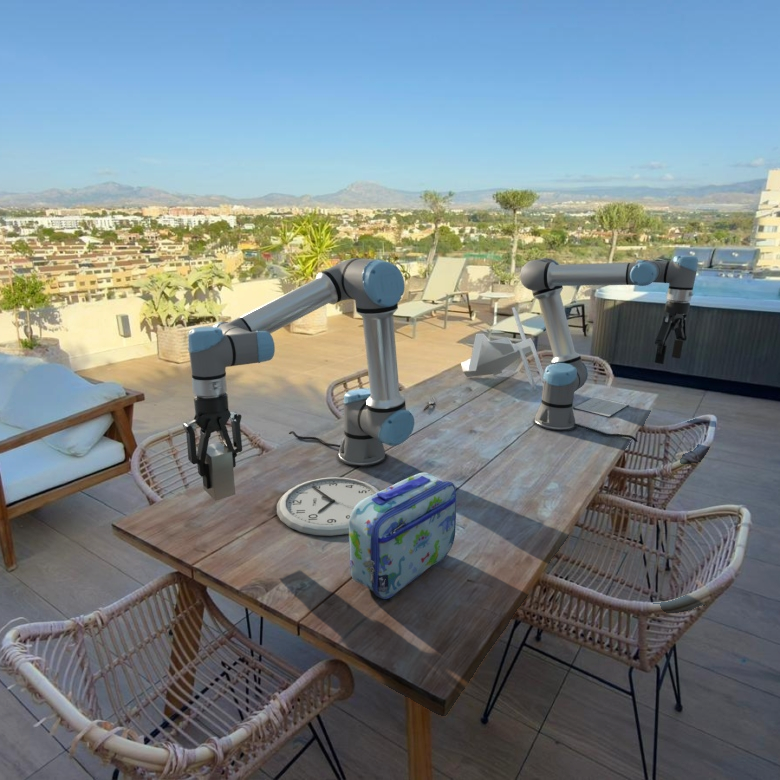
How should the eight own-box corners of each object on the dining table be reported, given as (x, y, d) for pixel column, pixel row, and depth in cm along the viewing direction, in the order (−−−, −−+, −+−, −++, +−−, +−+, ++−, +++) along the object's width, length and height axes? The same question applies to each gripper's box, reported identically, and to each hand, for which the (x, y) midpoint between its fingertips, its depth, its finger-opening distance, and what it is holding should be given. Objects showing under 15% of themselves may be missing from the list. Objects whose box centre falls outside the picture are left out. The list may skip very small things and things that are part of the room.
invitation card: (608, 416, 214) (573, 407, 224) (608, 416, 214) (573, 408, 224) (628, 404, 229) (594, 396, 238) (628, 405, 229) (594, 397, 238)
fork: (420, 411, 216) (420, 406, 216) (430, 400, 230) (431, 395, 230) (426, 412, 215) (426, 407, 215) (436, 401, 230) (436, 396, 229)
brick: (203, 489, 131) (199, 446, 128) (223, 483, 134) (219, 441, 131) (215, 500, 126) (211, 457, 122) (235, 494, 129) (232, 451, 125)
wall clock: (392, 527, 129) (268, 531, 127) (391, 533, 130) (269, 537, 127) (383, 473, 158) (282, 475, 155) (383, 478, 158) (282, 480, 156)
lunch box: (377, 612, 103) (378, 518, 97) (342, 586, 111) (341, 497, 104) (459, 557, 121) (465, 475, 115) (425, 538, 128) (428, 460, 122)
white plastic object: (482, 418, 266) (461, 395, 241) (463, 346, 288) (443, 318, 264) (553, 394, 254) (538, 368, 229) (528, 321, 276) (512, 289, 251)
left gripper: (176, 405, 114) (186, 500, 121) (253, 390, 125) (259, 478, 132) (165, 396, 120) (176, 488, 126) (240, 383, 131) (246, 467, 138)
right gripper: (673, 305, 172) (662, 367, 178) (704, 300, 187) (693, 357, 194) (650, 302, 178) (640, 363, 184) (682, 297, 193) (672, 353, 199)
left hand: (218, 482), depth 129 cm, fingers closed on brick, 5 cm apart
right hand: (667, 360), depth 189 cm, fingers open, 13 cm apart
